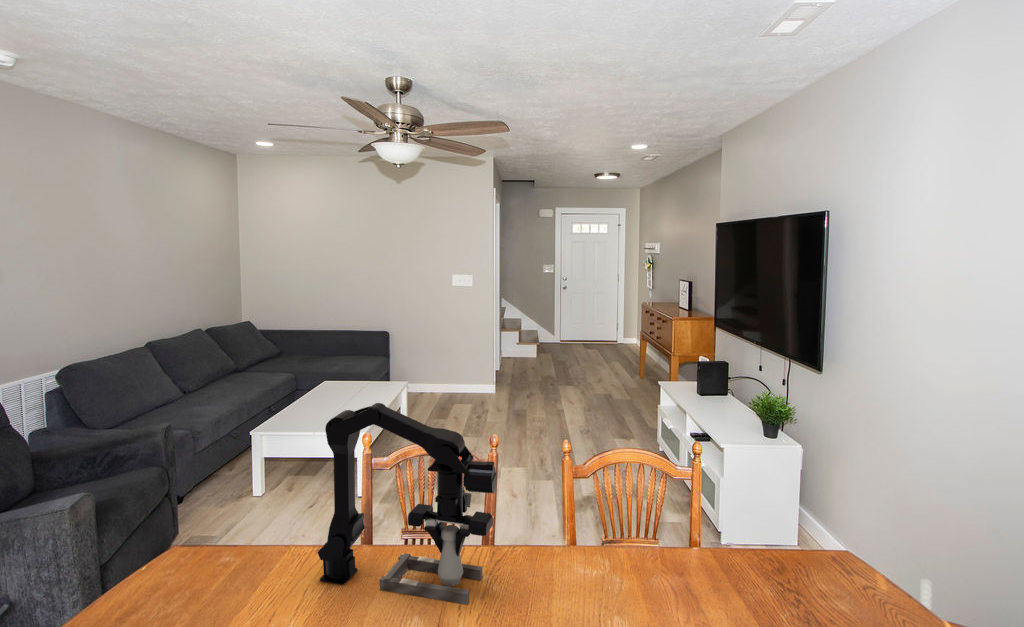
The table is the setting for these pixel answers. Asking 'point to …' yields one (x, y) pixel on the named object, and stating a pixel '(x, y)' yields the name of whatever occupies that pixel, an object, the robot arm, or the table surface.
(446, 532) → the salt shaker
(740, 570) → the table surface
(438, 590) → the guide rails
